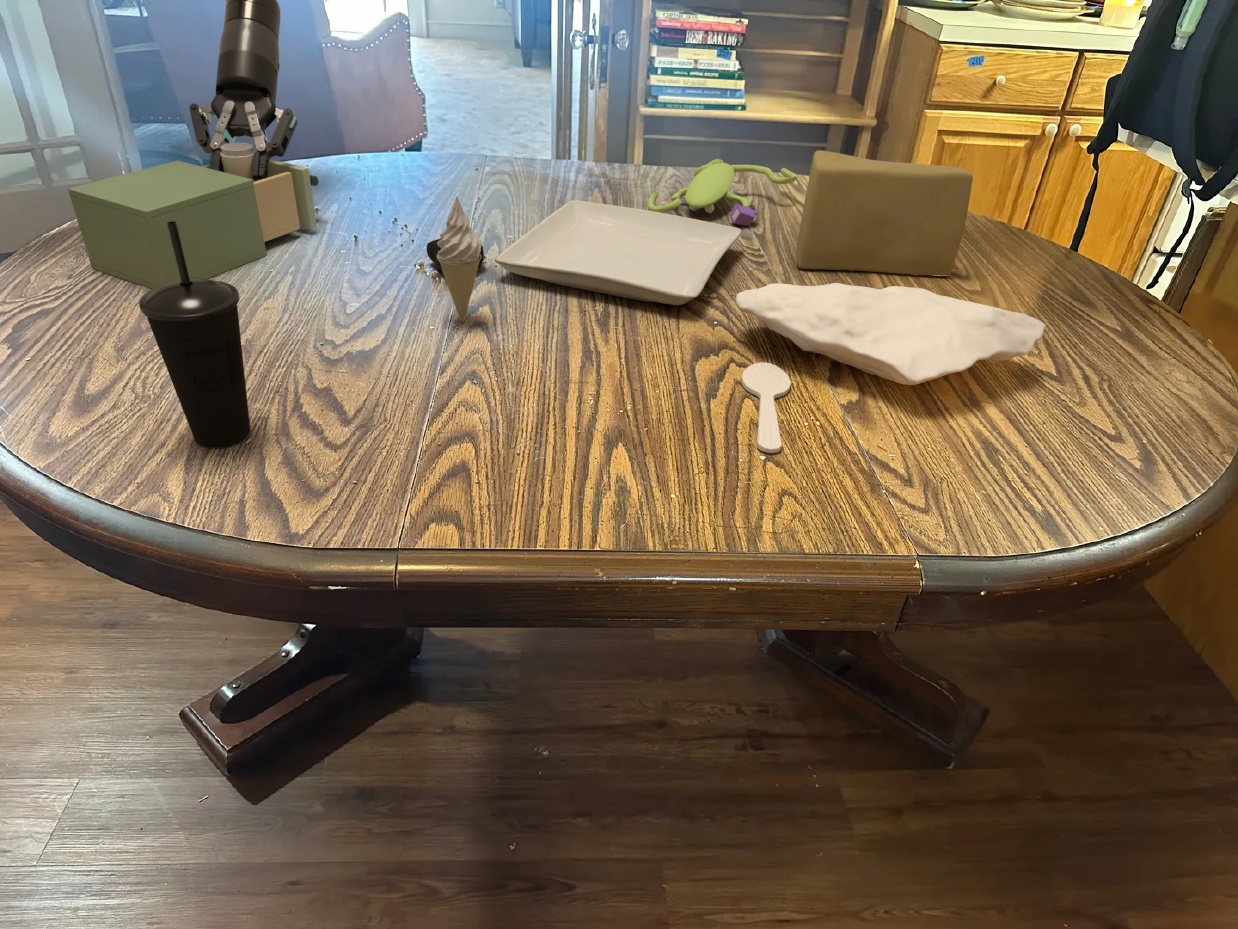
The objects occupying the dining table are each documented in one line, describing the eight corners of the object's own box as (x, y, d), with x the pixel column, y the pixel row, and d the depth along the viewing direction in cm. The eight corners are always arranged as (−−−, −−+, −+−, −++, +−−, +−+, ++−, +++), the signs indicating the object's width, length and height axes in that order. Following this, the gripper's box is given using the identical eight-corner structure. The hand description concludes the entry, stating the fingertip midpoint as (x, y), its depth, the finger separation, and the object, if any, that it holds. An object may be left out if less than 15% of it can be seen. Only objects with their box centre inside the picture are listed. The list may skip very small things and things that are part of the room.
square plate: (570, 220, 133) (570, 195, 131) (740, 251, 126) (744, 225, 124) (492, 282, 112) (491, 253, 109) (692, 323, 105) (696, 293, 103)
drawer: (274, 202, 129) (264, 145, 124) (337, 219, 125) (330, 161, 120) (169, 237, 115) (154, 175, 110) (237, 257, 111) (224, 193, 106)
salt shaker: (223, 206, 117) (211, 146, 112) (248, 198, 120) (237, 139, 115) (247, 213, 115) (235, 152, 111) (272, 204, 118) (261, 145, 114)
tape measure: (425, 263, 116) (423, 236, 113) (474, 257, 118) (473, 230, 116) (441, 282, 111) (439, 254, 109) (491, 275, 113) (490, 248, 111)
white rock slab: (1069, 425, 87) (1099, 340, 83) (728, 382, 90) (741, 297, 86) (1003, 354, 108) (1025, 283, 104) (729, 321, 111) (739, 250, 107)
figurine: (802, 197, 150) (808, 165, 147) (740, 238, 131) (745, 202, 128) (708, 176, 157) (712, 145, 154) (636, 212, 138) (639, 177, 135)
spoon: (741, 449, 82) (742, 445, 82) (741, 363, 97) (741, 359, 96) (797, 456, 82) (798, 451, 81) (788, 368, 96) (789, 364, 96)
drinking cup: (259, 406, 83) (216, 203, 72) (273, 446, 78) (230, 233, 67) (173, 422, 80) (114, 212, 69) (182, 464, 75) (120, 244, 63)
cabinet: (194, 234, 119) (177, 160, 113) (266, 255, 114) (253, 179, 109) (92, 268, 107) (67, 188, 102) (168, 294, 103) (146, 211, 97)
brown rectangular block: (944, 264, 127) (974, 161, 119) (954, 289, 119) (987, 181, 111) (795, 247, 129) (814, 144, 121) (795, 270, 121) (816, 163, 113)
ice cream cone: (451, 333, 99) (444, 205, 90) (434, 316, 102) (425, 191, 94) (491, 325, 101) (487, 199, 93) (472, 309, 104) (467, 186, 96)
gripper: (183, 44, 112) (170, 163, 109) (294, 50, 113) (284, 168, 110) (205, 79, 120) (194, 192, 117) (309, 84, 121) (301, 196, 118)
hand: (238, 180), depth 114 cm, fingers closed on salt shaker, 4 cm apart
